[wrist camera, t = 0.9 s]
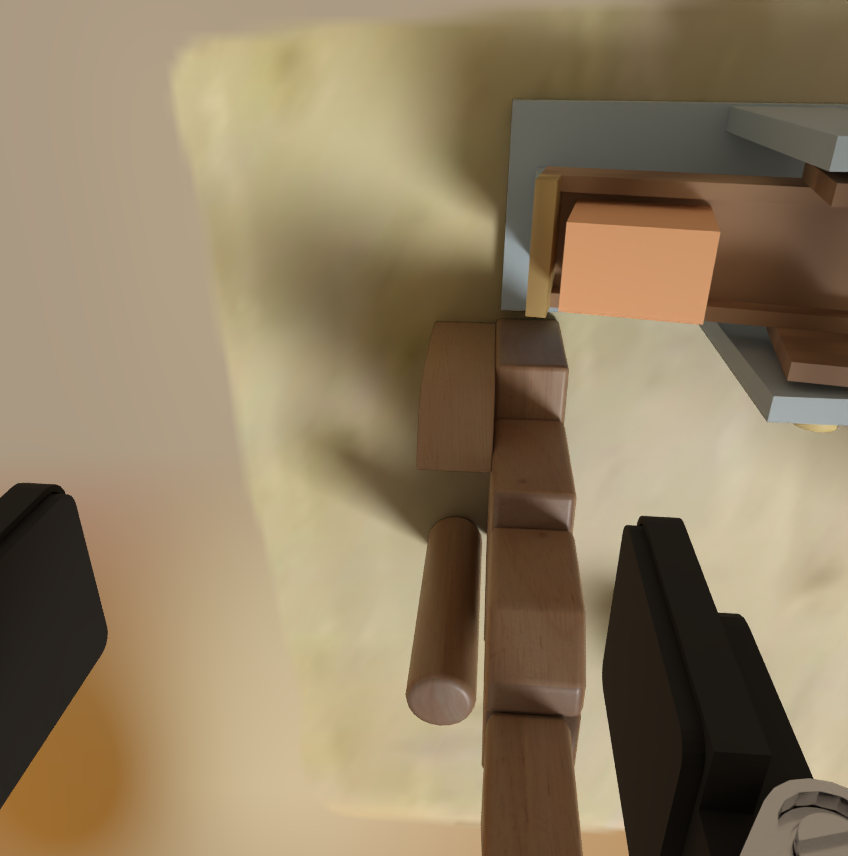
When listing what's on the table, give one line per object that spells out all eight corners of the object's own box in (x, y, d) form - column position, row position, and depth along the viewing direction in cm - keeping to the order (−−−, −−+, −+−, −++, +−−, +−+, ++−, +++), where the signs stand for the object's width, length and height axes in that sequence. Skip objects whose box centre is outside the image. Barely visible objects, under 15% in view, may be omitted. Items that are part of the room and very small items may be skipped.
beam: (1208, 174, 25) (1347, 207, 20) (1121, 358, 28) (1222, 426, 23) (548, 148, 30) (528, 168, 25) (536, 305, 33) (515, 352, 28)
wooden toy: (428, 315, 38) (331, 683, 16) (559, 318, 38) (641, 704, 16) (428, 556, 46) (361, 1039, 23) (538, 562, 45) (575, 1063, 23)
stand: (1060, 94, 31) (1362, 121, 20) (973, 331, 36) (1178, 456, 25) (513, 86, 33) (519, 108, 22) (500, 314, 38) (500, 424, 27)
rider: (711, 206, 28) (720, 231, 24) (696, 288, 30) (703, 324, 26) (578, 198, 29) (566, 222, 25) (569, 277, 31) (558, 311, 27)
